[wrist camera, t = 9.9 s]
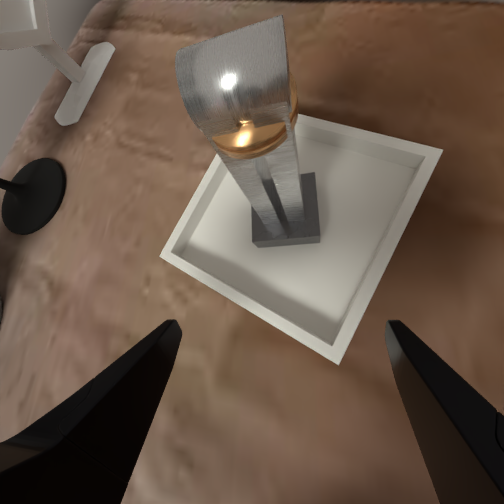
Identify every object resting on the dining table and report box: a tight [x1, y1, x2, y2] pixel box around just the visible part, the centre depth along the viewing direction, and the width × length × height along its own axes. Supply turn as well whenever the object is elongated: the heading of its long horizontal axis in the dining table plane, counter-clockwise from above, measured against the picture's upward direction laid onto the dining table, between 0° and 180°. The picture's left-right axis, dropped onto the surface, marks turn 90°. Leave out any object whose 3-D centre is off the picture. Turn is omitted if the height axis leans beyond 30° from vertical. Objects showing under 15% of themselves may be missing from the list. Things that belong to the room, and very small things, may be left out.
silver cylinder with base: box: [175, 15, 321, 248], centre depth 13 cm, size 5×5×14 cm
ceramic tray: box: [159, 114, 443, 365], centre depth 19 cm, size 16×16×2 cm
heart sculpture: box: [0, 0, 116, 126], centre depth 23 cm, size 16×5×18 cm, turn 158°
